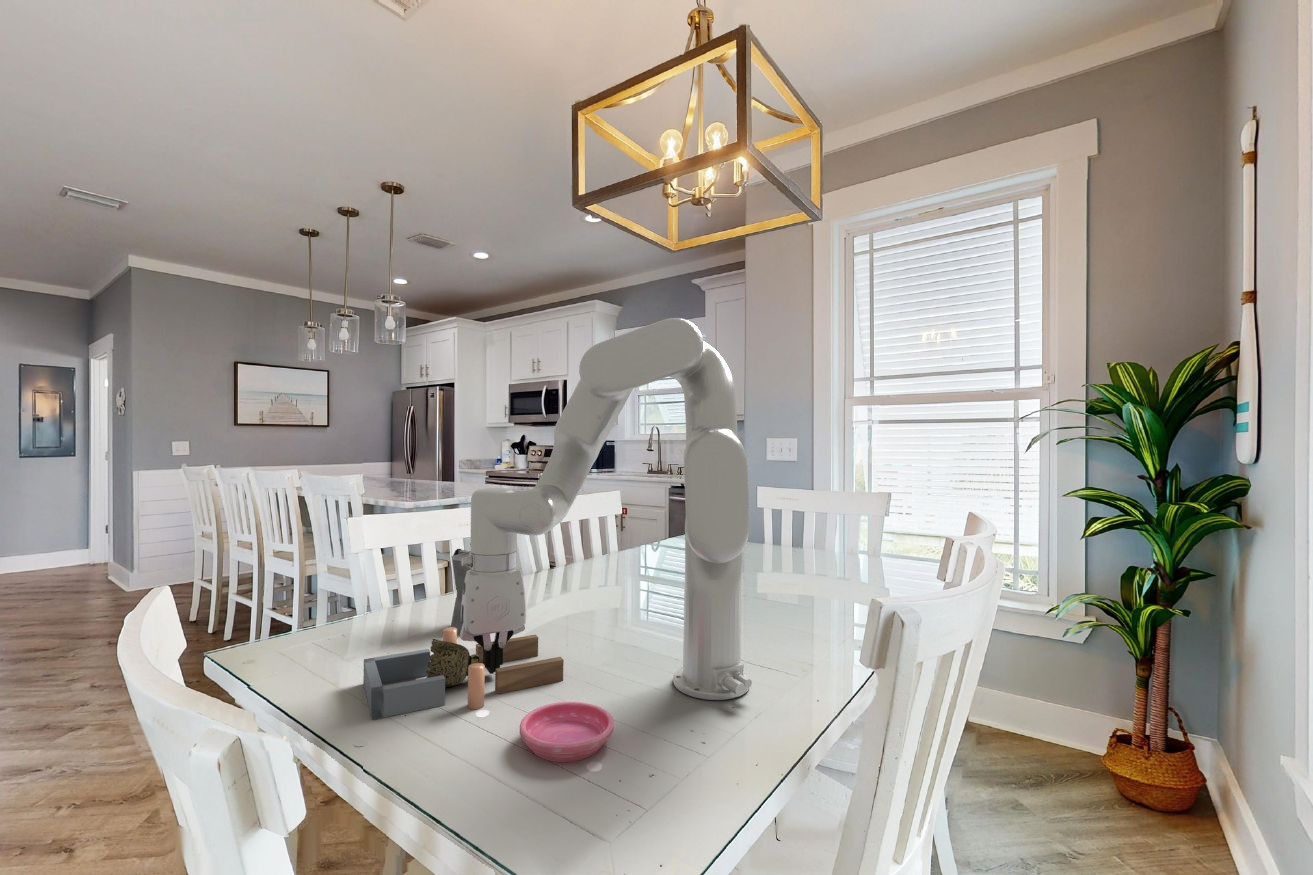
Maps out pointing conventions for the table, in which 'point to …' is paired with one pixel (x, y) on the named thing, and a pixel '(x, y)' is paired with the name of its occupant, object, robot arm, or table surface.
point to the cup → (450, 662)
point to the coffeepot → (459, 585)
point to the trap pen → (401, 684)
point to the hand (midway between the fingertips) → (492, 670)
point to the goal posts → (470, 674)
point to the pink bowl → (566, 730)
